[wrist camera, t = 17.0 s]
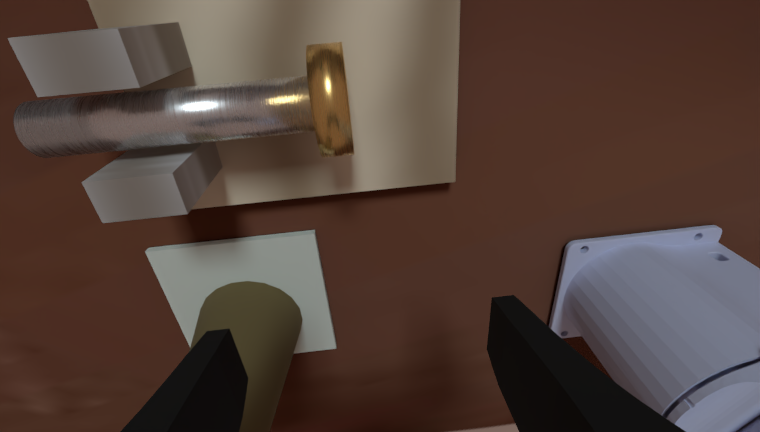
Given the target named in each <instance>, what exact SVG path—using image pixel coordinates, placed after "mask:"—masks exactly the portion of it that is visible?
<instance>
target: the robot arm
mask: <svg viewBox="0 0 760 432" xmlns="http://www.w3.org/2000/svg"><path fill="white" fill-rule="evenodd" d="M721 234H722V229H721V228H719V227H717V226H716V225H707V226H698V227H689V228H680V229H671V230H663V231H654V232H645V233H636V234H627V235H618V236H609V237H600V238H591V239H582V240H574V241H571V242H569V243H568V244H567V245H566V247H565V250H564V255H563V260H562V265H561V270H560V274H559V279H558V284H557V289H556V294H555V299H554V303H553V308H552V313H551V318H550V323H549V327H548V326H547V325H546V324H545V323H544V322H543V321H542V320H540V319H539V318H538V317H537V316H536V315H535V314H534V313H533V312H532V311H531V310H530V309H528V308H527V307H526V306H525V305H524V304H523V303H522V302H521V301H520V300H519V299H517V298H516V297H515V296H514V295H511V296H502V297H494V298H492V303H491V313H490V323H489V333H488V344H487V351H488V354H489V357H490V360H491V364H492V367H493V370H494V373H495V376H496V379H497V382H498V385H499V387H500V390H501V392H502V394H503V396H504V399H505V401H506V403H507V405H508V408H509V410H510V412H511V414H512V417H513V419H514V421H515V423H516V425H517V427H518V430H519V432H760V269H759V268H758V267H756V266H755V265H753V264H751V263H750V262H748V261H747V260H745V259H743V258H742V257H740V256H739V255H737V254H736V253H734V252H732V251H731V250H729V249H728V248H726V247H725V246H723V245H721V244H720V243H718V241H719V239H720V236H721ZM584 246H585V247H584ZM582 247H584V248H583V249H581V248H582ZM578 336H582V337H583V339H584V340H585V342H586V343H587V344H588V346H589V347H590V349H591V350H592V351H593V353H594V354H595V355H596V357H597V358H598V360H599V361H600V362H601V364H602V365H603V367H604V368H605V369H606V371H607V372H608V374H609V375H610V376H611V378H612V379H613V380H612V379H610V378H609V377H608V376H607V375H605V374H604V373H603V372H601V371H600V370H599V369H598V368H596V367H595V366H594V365H593V364H591V363H590V362H589V361H588V360H586V359H585V358H584V357H583V356H582V355H581V354H579V353H578V352H577V351H576V350H575V349H573V348H572V347H571V346H570V345H569V344H568V343H566V342H565V341H564V340H563V339H562V338H570V337H578ZM247 385H248V376H247V373H246V371H245V368H244V365H243V363H242V360H241V357H240V355H239V352H238V350H237V347H236V344H235V342H234V339H233V336H232V334H231V331H230V329H220V330H212V331H206V333H205V334H204V335H203V336H202V337H201V338H200V340H199V341H198V342H197V343H196V344H195V346H194V347H193V348H192V349H191V350H190V352H189V353H188V354H187V355H186V356H185V358H184V359H183V360H182V361H181V362H180V364H179V365H178V366H177V367H176V369H175V370H174V371H173V372H172V373H171V375H170V376H169V377H168V378H167V379H166V381H165V382H164V383H163V384H162V385H161V386H160V388H159V389H158V390H157V391H156V392H155V393H154V395H153V396H152V397H151V398H150V399H149V400H148V402H147V403H146V404H145V405H144V406H143V407H142V409H141V410H140V411H139V412H138V413H137V414H136V415H135V416H134V418H133V419H132V420H131V421H130V422H129V423H128V424H127V425H126V426H125V427H124V428H123V430H122V431H121V432H239V430H240V426H241V422H242V418H243V412H244V406H245V400H246V392H247Z"/></svg>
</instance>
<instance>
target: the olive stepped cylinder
mask: <svg viewBox="0 0 760 432" xmlns="http://www.w3.org/2000/svg"><path fill="white" fill-rule="evenodd" d="M302 320H303V319H302V315H301V311H300V308H299V307H298V305H297V304H296V302H295V301H294V300H293V298H292V297H290V296H289V295H288V294H286V293H285V292H284V291H282V290H281V289H279V288H276V287H274V286H271V285H268V284H266V283H260V282H252V281H243V282H235V283H230V284H227V285H225V286H222V287H220V288H217V289H216V290H215V291H213V292H212V293H211V294H210V295H209V296H208V297H206V299H205V301H204V303H203V305H202V307H201V309H200V313H199V316H198V320H197V324H196V328H195V332H194V335H193V339H192V343H191V347H190V350H191V349H192V348H193V347H194V346H195V344H196V343H197V342H198V341H199V340H200V338H201V337H202V336H203V335H204V334H205V333H206V331H212V330H220V329H230V331H231V334H232V336H233V339H234V342H235V344H236V347H237V350H238V352H239V355H240V357H241V360H242V363H243V365H244V368H245V371H246V373H247V376H248V385H247V392H246V400H245V406H244V412H243V418H242V422H241V426H240V430H239V432H270V429H271V426H272V422H273V419H274V416H275V413H276V409H277V406H278V403H279V399H280V396H281V393H282V390H283V386H284V383H285V380H286V377H287V373H288V370H289V367H290V363H291V360H292V357H293V354H294V350H295V347H296V344H297V341H298V337H299V334H300V331H301V325H302ZM189 352H190V351H189Z"/></svg>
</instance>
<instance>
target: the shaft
mask: <svg viewBox="0 0 760 432" xmlns="http://www.w3.org/2000/svg"><path fill="white" fill-rule="evenodd" d="M306 68H307V76H296V77H286V78H275V79H264V80H253V81H242V82H232V83H221V84H210V85H199V86H188V87H177V88H167V89H156V90H145V91H134V92H123V93H113V94H102V95H91V96H80V97H69V98H58V99H48V100H37V101H27V102H23V103H21V104H20V105H19V106H18V107H17V108H16V110H15V113H14V128H15V131H16V134H17V136H18V138H19V140H20V141H21V143H22V144H23V145H24V146H25V147H26V149H28V150H29V151H30V152H31V153H33V154H34V155H36V156H39V157H42V158H51V157H62V156H72V155H82V154H92V153H102V152H113V151H123V150H133V149H143V148H153V147H163V146H174V145H184V144H194V143H204V142H214V141H225V140H235V139H245V138H255V137H265V136H275V135H286V134H296V133H306V132H315V134H316V139H317V143H318V147H319V151H320V154H321V156H322V158H326V157H336V156H346V155H354V143H353V133H352V123H351V114H350V105H349V96H348V87H347V78H346V69H345V61H344V53H343V45H342V42H333V43H322V44H311V45H307V47H306Z"/></svg>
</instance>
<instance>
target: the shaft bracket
mask: <svg viewBox="0 0 760 432" xmlns="http://www.w3.org/2000/svg"><path fill="white" fill-rule="evenodd" d="M88 3H89V5H90V8H91V10H92V13H93V15H94V18H95V20H96V23H97V25H98V28H99V29H92V30H83V31H73V32H63V33H53V34H43V35H33V36H23V37H14V38H8V40H9V42H10V44H11V46H12V48H13V50H14V52H15V54H16V56H17V58H18V60H19V62H20V64H21V66H22V68H23V69H24V71H25V73H26V75H27V77H28V79H29V81H30V83H31V85H32V87H33V89H34V91H35V93H36V95H37V97H44V96H55V95H66V94H76V93H87V92H98V91H109V90H120V89H123V90H124V92H134V91H145V90H156V89H167V88H177V87H188V86H199V85H210V84H221V83H232V82H242V81H253V80H264V79H275V78H286V77H296V76H307V68H306V47H307V45H311V44H322V43H333V42H342V45H343V53H344V61H345V69H346V78H347V87H348V96H349V105H350V114H351V123H352V133H353V143H354V155H346V156H336V157H326V158H322V156H321V154H320V151H319V147H318V143H317V139H316V134H315V132H306V133H296V134H286V135H275V136H265V137H255V138H245V139H235V140H225V141H214V142H204V143H194V144H184V145H174V146H163V147H153V148H143V149H133V150H128V151H127V152H125V153H124V154H122V155H121V156H119V157H118V158H117V159H115V160H114V161H112V162H111V163H109V164H108V165H106V166H105V167H103V168H102V169H100V170H99V171H97V172H96V173H95V174H93V175H92V176H90V177H89V178H87V179H86V180H84V181H83V182H82V184H83V186H84V188H85V190H86V192H87V194H88V196H89V198H90V200H91V202H92V203H93V205H94V207H95V209H96V211H97V213H98V215H99V217H100V219H101V221H102V223H108V222H118V221H127V220H137V219H146V218H156V217H165V216H175V215H184V214H188V213H189V212H190V210H191V209H200V208H210V207H219V206H229V205H239V204H248V203H258V202H267V201H277V200H286V199H296V198H305V197H315V196H324V195H334V194H344V193H353V192H363V191H372V190H382V189H391V188H401V187H410V186H420V185H430V184H439V183H449V182H455V172H456V136H457V101H458V65H459V29H460V0H88Z"/></svg>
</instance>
